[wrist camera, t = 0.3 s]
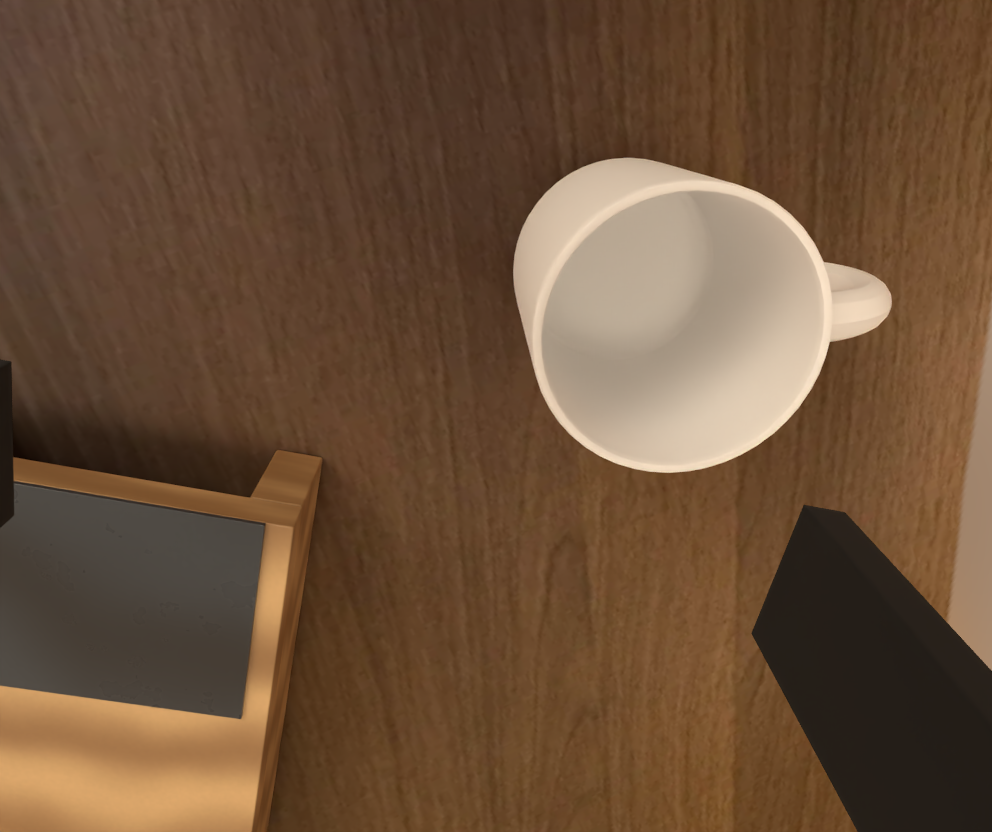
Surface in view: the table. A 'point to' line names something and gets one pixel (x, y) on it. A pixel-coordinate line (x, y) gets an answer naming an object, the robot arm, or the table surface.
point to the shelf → (147, 648)
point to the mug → (677, 312)
